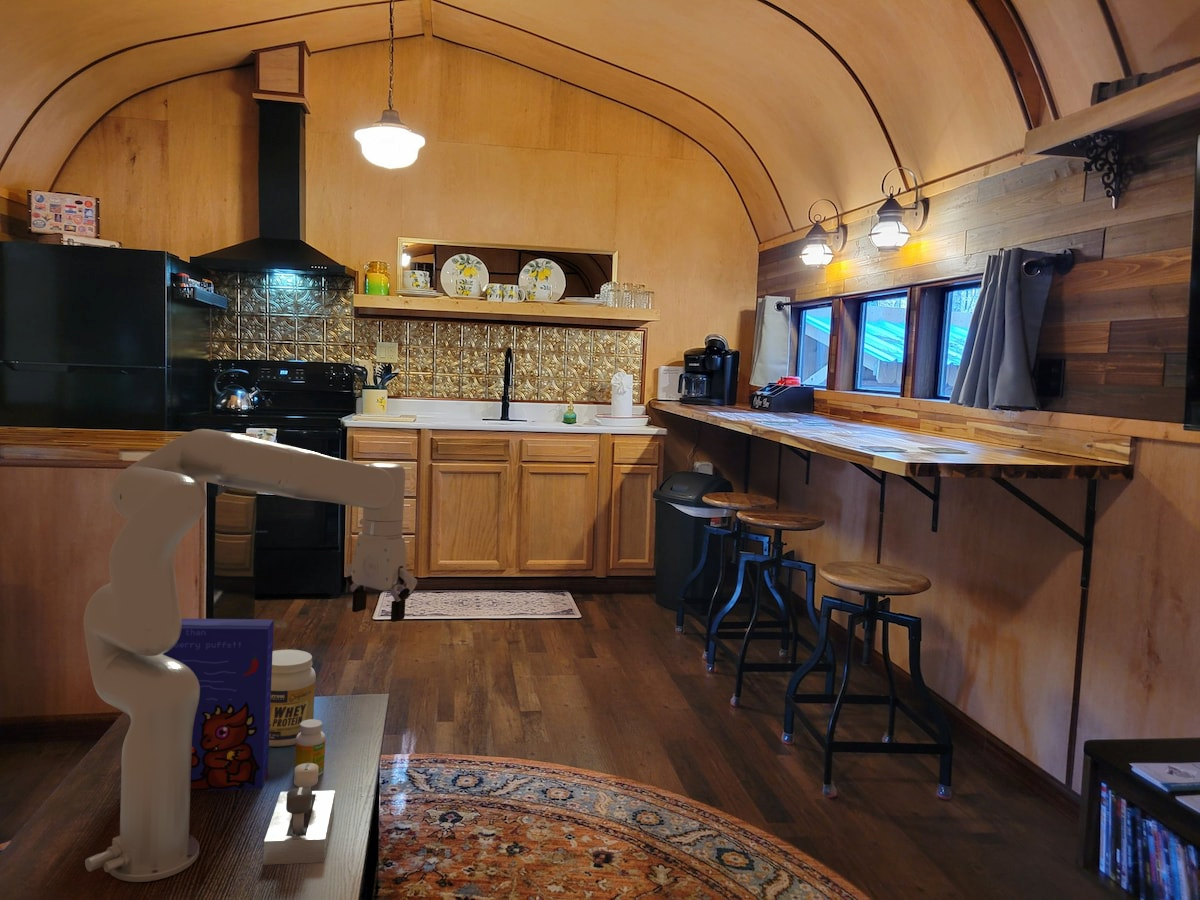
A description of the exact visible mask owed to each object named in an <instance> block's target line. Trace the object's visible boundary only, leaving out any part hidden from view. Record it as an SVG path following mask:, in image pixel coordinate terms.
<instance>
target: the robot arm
mask: <svg viewBox="0 0 1200 900" xmlns="http://www.w3.org/2000/svg"><path fill="white" fill-rule="evenodd" d="M200 482H205V483H211V484H214V485H218V486H223V487H227V488H228V487H229V488H233V489H234V488H235V489H240V490H245V491H246V490H247V491H250V492H251V491H253V492H259V493H264V494H269V495H275V496H281V497H285V498H291V499H298V500H303V501H304V500H306V501H316V502H317V501H319V502H326V503H332V504H333V503H334V504H339V505H344V506H350V507H351V506H352V507H354V508H355V507H357V508H362V517H361V518H360V520H359V525H360V526H362V527H361V532H359V533H358V534H357V538H356V542H355V545H354V551H353V558H352V562H351V563H348V564H347V565H345V566H344V567H343V568H344V573H345V575H346V581H347V583H348V585H349V586H350V591H351V592H352V601H351V602H352V606H351V607H352V608H351V611H352V612H353V613H357V612H363V611H365V610H366V608H367V598H368V597H367V594H368V591H367V590H368V589H365V588H369V589H370V588H371V589H374V590H379V591H385V592H387V591H388V592H390V594H391V596H392V597H393V600H392V601H391V605H390V606H391V607H390V621H391V622H392V623H396V622H399V621H402V620H405V614H406V600H407V599H409V597H410V596H411V595H412V594H414V590H415V588H416V587H417V584H418V580H417V578H416V577H414V576H413V574H411V573H410V572H409V571H408V569H407V548H406V547H407V546H406V541H405V536H403V523H404V520H403V519H404V510H405V506H404V505H405V490H406V489H405V485H406V470H405V468H404V467H403V466H402V464H398V463H392V462H391V463H390V462H374V463H373V462H372V463H370V464H363V463H358V462H354V461H349V460H345V459H341V458H337V457H334V456H333V457H332V456H329V455H325V454H321V453H319V452H315V451H312V450H308V449H304V448H300V447H296V446H293V445H292V446H291V445H288V444H284V443H283V444H282V443H278V442H275V441H274V442H273V441H270V440H265V439H262V438H261V439H260V438H256V437H252V436H248V435H244V434H239V433H235V432H229V431H228V432H227V431H221V430H215V429H209V428H207V429H206V428H199V429H198V428H197V429H195V430H192V431H189V432H186V433H183V434H182V435H179V436H178V437H177V438H175V439H173V440H171V441H170V442H168V443H166V444H164V445H163V446H161V447H159V448H157V450H154V451H153V452H152V453H151V452H150V454H148V455H146V456H145V457H142V458H141V459H138V461H136V462H134V463H132V464H130V465H129V466H128V467H126V468H124V470H122V472H120V473H119V474H118V475H117V477H115V479H114V481H113V482H112V483H111V484H112V485H111V488H110V491H109V498H110V502H111V505H112V508H113V509H114V510H115V512H116V513H117V514H119V515H120V516H121V517H123V518H125V519H127V521H126V522H125V524H124V525H123V526H122V528H121V530H120V531H119V532H118V534H117V536H116V537H115V539H114V541H113V543H112V545H111V548H110V553H109V558H108V559H109V560H108V561H109V562H108V565H109V567H108V568H109V569H108V570H109V582H108V583H107V584H104V585H103V586H101V587H100V588H98V589H97V590H96V591H95V592H94V593H93V594H92V596H91V597H90V598H89V600H88V602H87V604H86V607H85V610H84V613H83V631H84V637H85V643H86V644H85V645H86V651H87V658H88V662H89V667H90V668H89V669H90V676H91V679H92V684H93V688H94V689H95V691H96V693H97V695H98V696H99V698H100V699H101V700H102V701H104V703H106V704H107V705H110V706H112V707H114V708H115V709H117V710H119V711H122V712H123V713H124V714H126V715H128V716H129V717H130V718H129V719H130V724H129V726H128V730H127V733H126V734H125V737H124V740H123V743H122V748H121V759H120V760H121V767H120V769H121V773H120V774H121V775H120V781H121V782H120V813H119V816H120V819H119V835H117V836H115V837H113V838H112V843H111V846H108V847H107V848H106V850H105V851H102V852H99V853H96V854H95V855H92V856H89V857H88V858H85V860H84V865H85V868H86V871H87V872H92V871H95V870H97V869H99V868H102V867H103V869H104V872H105V873H109V874H110V876H112V877H114V878H116V880H121V881H124V882H131V883H143V882H144V883H145V882H152V881H154V882H155V881H158V880H162V879H166V878H169V877H171V876H175V875H177V874H179V873H181V872H183V871H184V870H186V869H188V868H189V867H191V866H192V864H194V863H195V861H196V860H197V859H198V858H199V855H200V843H199V841H198V839H197V838H195V837H194V836H193V835H191V834H190V814H191V812H190V811H191V810H190V809H191V807H190V806H191V791H190V783H191V751H192V734H193V726H194V720H195V715H196V711H197V707H198V703H199V698H200V685H199V681H198V679H197V677H196V675H195V674H194V672H193V671H192V670H191V669H190V668H189V667H188V666H186V665H185V664H183V663H181V662H179V661H177V660H175V659H172V658H170V657H168V656H165V655H163V653H165V652H167V651H169V650H171V649H172V648H173V647H174V646H175V644H176V643H177V641H178V639H179V637H180V634H181V629H182V620H181V618H182V612H181V606H180V599H179V593H178V585H177V577H176V567H175V566H176V565H175V561H176V560H175V559H176V553H177V550H178V547H179V545H180V544H181V542H182V540H184V539H183V538H184V537H185V536H187V535H186V534H188V533H189V531H190V530H191V529H192V528H193V527H194V526H195V525H196V524H197V523H198V522H199V520H200V519H201V517H202V516H203V514H204V512H205V509H206V507H207V493H206V490H205V488H204V486H203V485H202V484H201V483H200ZM405 584H406V585H405Z"/></svg>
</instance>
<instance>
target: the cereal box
mask: <svg viewBox="0 0 1200 900" xmlns="http://www.w3.org/2000/svg"><path fill="white" fill-rule="evenodd" d="M181 620H182V629H181V634H180V637H179V639H178V641H177V643H176V644H175V646H174V647H173V648H172V649H171V650H169V651H167V652H165V653H163V655H165V656H168V657H170V658H172V659H175V660H177V661H179V662H181V663H183V664H185V665H186V666H188V667H189V668H190V669H191V670H192V671H193V672H194V674H195V675H196V677H197V679H198V681H199V685H200V698H199V703H198V707H197V711H196V715H195V720H194V726H193V734H192V751H191V783H190V792H193V791H194V792H197V791H200V792H201V791H232V790H235V791H237V790H262V789H263V787H264V785H265V782H266V780H267V777H268V774H269V773H268V772H269V753H270V752H269V750H270V746H269V729H270V703H271V678H272V653H273V651H274V648H273V647H274V629H275V628H274V621H275V619H263V618H262V619H260V618H259V619H257V618H256V619H255V618H254V619H249V618H241V619H240V618H182V617H181ZM265 779H266V780H265Z"/></svg>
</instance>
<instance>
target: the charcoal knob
mask: <svg viewBox="0 0 1200 900" xmlns="http://www.w3.org/2000/svg"><path fill="white" fill-rule="evenodd" d="M312 791H313V790H310V789H308V788H303V787H299V786H298V787H297V788H296V787H295V788H292V789H290V790H289V791H287V792H288V793H287V802H286V810H287V812H289V813H292V814H293V832H292V835H294V836H299V835H301V834H303V833H304V821H305V819H304V818H305V816H304V813H305V812H307V811H309V810H310V809H311V806H312Z"/></svg>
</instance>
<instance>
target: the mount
mask: <svg viewBox="0 0 1200 900" xmlns="http://www.w3.org/2000/svg"><path fill="white" fill-rule="evenodd" d="M311 791H312V806H311V809H310V810H309V811H307V812H305V813H304V817H305V816H306V817H310V818H309V822H308V827H307V830H306V834H305V835H293V814H292V813H289V812H287V810H286V802H287V793H288V792H289V791H280V793H279V796H278V799H277V802H276V805H275V808H274V811H273V814H272V817H271V820H270V823H269V825H268V829H267V832H266V835H265V838H264V840H263V841H264V843H263V861H262V862H263V863H262V864H263V866H266V865H268V866H269V865H287V864H289V865H290V864H291V865H292V864H314V863H324V862H325V858H326V853H327V848H328V842H329V837H330V833H331V828H332V822H333V818H334V813H335V799H336V797H335V796H336V795H335V794H336V790H311Z"/></svg>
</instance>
